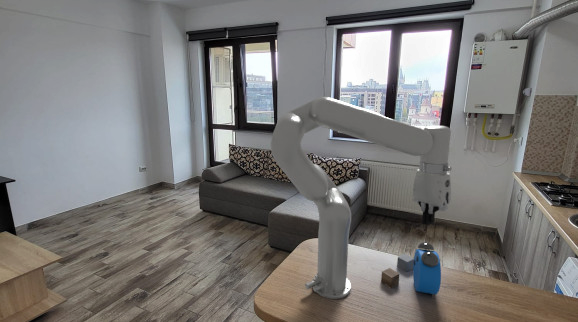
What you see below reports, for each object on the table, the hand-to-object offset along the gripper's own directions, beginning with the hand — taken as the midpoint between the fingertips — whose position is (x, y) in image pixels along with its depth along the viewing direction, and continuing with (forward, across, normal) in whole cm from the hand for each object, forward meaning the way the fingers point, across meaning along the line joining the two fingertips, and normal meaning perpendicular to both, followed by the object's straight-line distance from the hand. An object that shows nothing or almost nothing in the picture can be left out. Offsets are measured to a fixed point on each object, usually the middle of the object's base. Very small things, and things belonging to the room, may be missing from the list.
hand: (427, 223), depth 92 cm
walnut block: (+22, +7, +8) cm, 25 cm away
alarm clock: (+23, -1, +1) cm, 23 cm away
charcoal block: (+23, +10, -4) cm, 25 cm away
